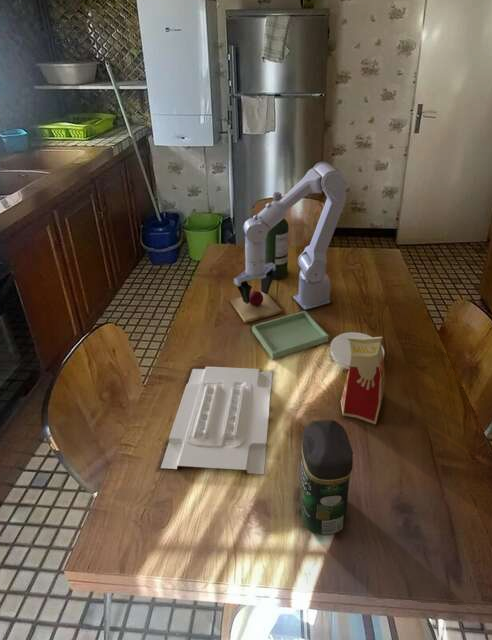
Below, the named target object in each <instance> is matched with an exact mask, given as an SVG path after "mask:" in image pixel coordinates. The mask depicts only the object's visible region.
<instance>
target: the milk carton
mask: <svg viewBox="0 0 492 640" xmlns="http://www.w3.org/2000/svg"><path fill="white" fill-rule="evenodd" d="M347 339H348V340H350V348H351V362H350V366H349V370H347V374H346V379H345V383H344V386H343V390H342V394H341V398H340V406H341V412H342V416H344V417H349V418H350V417H351V418H356V419H359V420H362V421H365V422H367V423H370V424H373V425H377V421H378V417H379V414H380V410H381V406H382V401H383V395H384V389H385V382H386V381H385V380H386V379H385V357H384V358H383V352H382V347H383V345H382V339H383V336H374V337H373V336H372V338H347Z"/></svg>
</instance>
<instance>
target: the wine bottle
mask: <svg viewBox="0 0 492 640" xmlns="http://www.w3.org/2000/svg"><path fill="white" fill-rule="evenodd" d="M272 198H273V199H272V201H280V200H281V199H282V198H283V195H282V193H281V192H279V191H275V192H274V193H273V194H272ZM289 227H290V226H289V222H288V221H287V220H286V218H284V219H282V220H281V221H280V222H279V223H278V224H277V225H275V226H274V227H273V228H272V229H271V230H270V231H269V232H268V233H267V237H266V239H265V240H264V243H265V264H268V263H273V264H275V270H274V271H272V272H274V273H275V278H274V279H273V280H280V279H284V278H285V277H286V276H287V275H288V261H289V260H288V258H289V229H290V228H289Z"/></svg>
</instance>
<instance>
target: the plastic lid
mask: <svg viewBox="0 0 492 640" xmlns="http://www.w3.org/2000/svg"><path fill="white" fill-rule="evenodd" d="M347 338H373V336H371V335H369V334H367V333H362V332H357V331H356V332H355V331H349V332H343V333H340V334H338V335H336V336H335V337H334V338H333V339H332V340H331V342H330V348H329V353H330V357H331V359H332V360H333V362H335V364H337V365H338V366H340V367H341V368H343V369H345V370H347V371H348V370H349V366H350V362H351V348H350V340H348V339H347ZM382 352H383V358H384V359H385V348H384V346H382Z"/></svg>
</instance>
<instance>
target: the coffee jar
mask: <svg viewBox="0 0 492 640" xmlns="http://www.w3.org/2000/svg"><path fill="white" fill-rule="evenodd" d="M353 455H354V452H353V449H352V445H351V442H350V439H349V435H348V434H347V430H346V429H345V428H344V427H343V425H342V424H340V423H339V422H338V421H336V420H335V419H319V420H313V421H311V422H309V423H308V424H307V425H306V426H305V427H304V430H303V432H302V438H301V457H300V458H301V461H300V478H299V479H300V481H299V507H300V513H301V516H302V521H303V523H304V526H305V528H306V529H307V531H309V532H310V533H312V534H314V535H319V536H328V535H333V534H336V533H339V532H341V531H342V530H343V529H344V527H345V525H346V521H347V510H348V499H349V488H350V478H351V474H352V472H353V467H354V456H353Z"/></svg>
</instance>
